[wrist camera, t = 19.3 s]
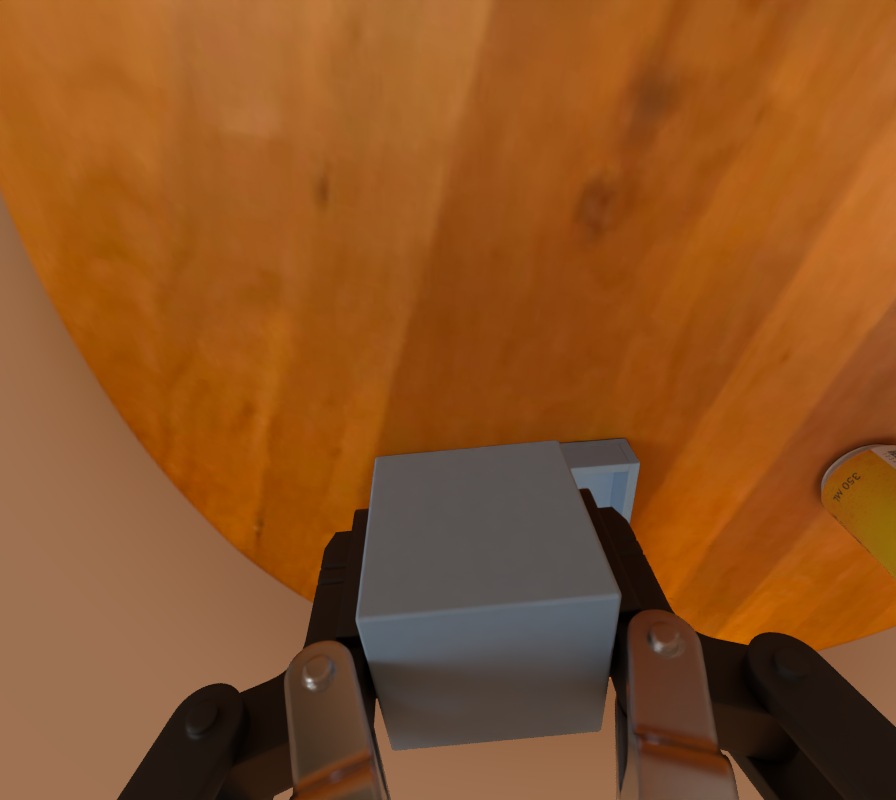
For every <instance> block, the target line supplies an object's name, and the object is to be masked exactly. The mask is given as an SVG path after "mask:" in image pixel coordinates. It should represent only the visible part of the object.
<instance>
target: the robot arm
mask: <svg viewBox="0 0 896 800" xmlns="http://www.w3.org/2000/svg"><path fill="white" fill-rule="evenodd" d="M579 492H580V494H581V497H582V499H583V501H584V504H585V506H586V509H587V511H588V514H589V516H590V519H591V521H592V524H593V526H594V528H595V531H596V533H597V536H598V538H599V541H600V543H601V546H602V548H603V551H604V553H605V555H606V558H607V560H608V563H609V565H610V568H611V570H612V573H613V575H614V577H615V580H616V582H617V585H618V587H619V590H620V592H621V595H622V596H621V604H620V610H619V616H618V623H617V629H616V636H615V642H614V649H613V655H612V662H611V668H610V674H609V677H611V679H612V682H613V685H614V688H615V691H616V699H615V737H616V738H615V739H616V800H739V796H738V791H737V785H736V780H735V776H734V772H733V768H732V765H731V763H730V760H729V758H728V757H727V756H726V755H723V754H722V752H721V750H725V751H728V752H729V753H730V754H731V756H732V757H733V759H734V760H735V761H736V762H737V764H738V765H739V767H740V768H741V769H742V771H743V772H744V773H745V775H746V776H747V777H748V779H749V780H750V781H751V783H752V784H753V785H754V787H755V788H756V789H757V791H758V792H759V793H760V795H761V796H762V797H763V799H764V800H896V727H895V726H894V725H893V724H892V723H891V722H890V721H889V720H888V719H886V718H885V717H884V716H883V715H882V714H881V713H880V712H879V711H878V710H877V709H876V708H875V707H874V706H873V705H872V704H871V703H870V702H869V701H867V699H866V698H864V697H863V696H862V695H861V694H860V693H859V692H858V691H857V690H856V689H855V688H854V687H853V686H852V685H851V684H850V683H849V682H848V681H847V680H846V679H844V678H843V677H842V676H841V675H840V674H839V673H838V672H837V671H836V670H835V669H834V668H833V667H832V666H831V665H830V664H829V663H828V662H827V661H826V660H825V659H823V658H822V657H821V656H820V655H819V654H818V653H817V652H816V651H815V650H814V649H812V648H811V647H810V646H808V645H807V644H805V643H804V642H802V641H800V640H798V639H796V638H794V637H792V636H789V635H786V634H781V633H775V632H768V633H762V634H759V635H757V636H756V637H754V638H753V639H752V640H751V642H750V643H749V645H744V644H740V643H735V642H730V641H725V640H720V639H715V638H712V637H708V636H705V635H703V634H700V633H698V632H696V631H695V630H694V629H693V628H692V627H691V626H690V625H689V624H688V623H687V622H686V621H685V620H683V619H682V618H680V617H679V616H677V615H675V613H674V612H673V611H672V609H671V607H670V605H669V603H668V601H667V599H666V597H665V595H664V593H663V591H662V589H661V587H660V585H659V583H658V581H657V579H656V577H655V575H654V573H653V571H652V569H651V567H650V565H649V563H648V561H647V559H646V557H645V555H643V551H642V549H641V547H640V545H639V543H638V541H636V537H635V535H634V533H633V531H632V529H631V527H630V525H629V523H628V521H627V520H626V519H625V518H624V517H623V516H622V515H621V514H620V513H619V512H617V511H616V510H615V509H614V508H613V507H602V508H598V507H597V505H596V502H595V500H594V498H593V495H592V493H591V491H590V490H589V489H588V488H584V489H579ZM368 514H369V509H359V510H356V511H355V513H354V519H353V526H352V531H345V532H336V533H335V535H334V536H333V538H332V539H331V541H330V542H329V543H328V545H327V546H326V548H325V550H324V555H323V560H322V565H321V570H320V574H319V579H318V585H317V589H316V593H315V598H314V603H313V608H312V613H311V618H310V622H309V627H308V632H307V637H306V641H305V644H304V647H303V650H302V651H301V652H300V653H298V654H297V655H296V656H295V657H294V659H293V660H292V662H291V663H290V665H289V667H288V668H287V670H286V671H284V672H283V673H282V674H280V675H279V676H277V677H275V678H273V679H271V680H269V681H267V682H265V683H262V684H260V685H258V686H255V687H253V688H250V689H248V690H246V691H243V692H241V693H239V692H238V690H237V689H236V688H234V687H233V686H231V685H228V684H223V683H220V684H219V683H218V684H212V685H208V686H205V687H203V688H201V689H199V690H197V691H195V692H194V693H193V694H191V695H190V696H188V697H187V698H186V699H185V700H184V701H183V702H182V703H181V704H180V705H179V706H178V708H177V709H176V710H175V712H174V713H173V715H172V716H171V718H170V719H169V721H168V722H167V724H166V726H165V727H164V728H163V730H162V732H161V733H160V735H159V736H158V738H157V739H156V741H155V742H154V744H153V745H152V747H151V748H150V750H149V751H148V753H147V754H146V756H145V757H144V759H143V761H142V762H141V764H140V765H139V767H138V768H137V770H136V772H135V773H134V774H133V776H132V777H131V779H130V781H129V782H128V784H127V785H126V787H125V788H124V790H123V791H122V793H121V794H120V796H119V797H118V799H117V800H273V798H274V796H275V795H277V794H279V793H281V792H284V791H286V790H288V789H290V788H292V787H293V795H292V796H291V797H290V799H289V800H391V799H390V794H389V790H388V786H387V782H386V777H385V772H384V769H383V764H382V760H381V755H380V751H379V747H378V743H377V738H376V734H375V730H374V717H375V703H376V698H377V695H376V691H375V687H374V684H373V680H372V677H371V673H370V670H369V666H368V663H367V659H366V656H365V652H364V649H363V645H362V642H361V638H360V635H359V631H358V627H357V624H356V620H355V619H356V611H357V603H358V595H359V586H360V578H361V570H362V562H363V554H364V546H365V538H366V530H367V522H368ZM720 749H721V750H720Z"/></svg>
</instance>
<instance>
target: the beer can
mask: <svg viewBox="0 0 896 800" xmlns="http://www.w3.org/2000/svg"><path fill="white" fill-rule="evenodd" d="M821 490H822V494H821V500H822V504H823V506H824V507H825V509H826V510H827V511H828V512H829V513H830V514H831V515H832V516H833V517H834V518H835V519H836V520H837V521H838V522H839V523H840V524H841V525H842V526H843V527H844V528H845V529H846V530H847V531H848V532H849V533H850V534H851V535H852V536H853V537H854V538H855V539H856V540H857V541H858V542H859V543H860V544H861V545H862V546H863V547H864V548H865V549H866V550H867V551H868V552H869V553H870V554H871V555H872V556H873V557H874V558H875V559H876V560H877V561H878V562H879V563H880V564H881V565H882V566H883V567H884V568H885V569H886V570H887V571H888V572H889V573H890V574H891V575H892V576H893V577H894V578H895V579H896V445H881V444H874V445H867V446H863V447H860V448H857V449H855V450H853V451H850V452H849V453H847V454H845V455H843V456H842V457H841V458H839V459H838V460H837V461H835V462H834V463H833V464H832V465H831V466H830V468H829V469H828V470H827V471H826V473H825V475H824V477H823V479H822V483H821Z"/></svg>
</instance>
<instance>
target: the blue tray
mask: <svg viewBox="0 0 896 800" xmlns="http://www.w3.org/2000/svg"><path fill="white" fill-rule="evenodd" d="M560 445H561V448H562V450H563V452H564V455H565V457H566V460H567V462H568V465H569V467H570V470H571V472H572V475H573V477H574V479H575V482H576V484H577V487H578V489H584V488H588V489H589V490H590V491H591V493H592V495H593V498H594V500H595V502H596V505H597V507H598V508H602V507H613V508H614V509H615V510H616V511H617V512H619V513H620V514H621V515H622V516H623V517H624V518H625V519H626V520H627V521H628V523H629V524H630V519H631V513H632V507H633V502H634V496H635V490H636V485H637V479H638V473H639V468H640V462H639V460H638V459H637V457H636V455H635V454H634V452H633V450H632V449H631V447H630V445H629V444H628V442H627V441H626V439H625V438H623V439H610V440H598V441H585V442H573V443H560Z"/></svg>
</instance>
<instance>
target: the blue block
mask: <svg viewBox="0 0 896 800" xmlns="http://www.w3.org/2000/svg"><path fill="white" fill-rule="evenodd" d="M621 596H622V595H621V592H620V590H619V587H618V585H617V582H616V580H615V577H614V575H613V573H612V570H611V568H610V565H609V563H608V560H607V558H606V555H605V553H604V551H603V548H602V546H601V543H600V541H599V538H598V536H597V533H596V531H595V528H594V526H593V524H592V521H591V519H590V516H589V514H588V511H587V509H586V506H585V504H584V501H583V499H582V497H581V494H580V492H579V489H578V487H577V484H576V482H575V479H574V477H573V475H572V472H571V470H570V467H569V465H568V462H567V460H566V457H565V455H564V452H563V450H562V448H561V445H560V443H559V441H558V440H551V441H540V442H530V443H519V444H508V445H498V446H487V447H477V448H466V449H455V450H445V451H434V452H423V453H413V454H402V455H392V456H381V457H377V458H376V459H375V465H374V473H373V481H372V489H371V497H370V506H369V514H368V522H367V530H366V538H365V546H364V554H363V562H362V570H361V578H360V586H359V595H358V603H357V611H356V619H355V620H356V624H357V627H358V631H359V635H360V638H361V642H362V645H363V649H364V652H365V656H366V659H367V663H368V666H369V670H370V673H371V677H372V680H373V684H374V687H375V691H376V695H377V698H378V701H379V705H380V709H381V712H382V715H383V719H384V723H385V726H386V729H387V733H388V737H389V740H390V744H391V747H392V749H393V750H407V749H417V748H428V747H437V746H449V745H460V744H470V743H480V742H491V741H502V740H513V739H522V738H534V737H544V736H554V735H566V734H576V733H587V732H598V731H600V730H601V726H602V719H603V713H604V707H605V700H606V694H607V687H608V681H609V674H610V668H611V662H612V655H613V649H614V642H615V636H616V629H617V623H618V616H619V610H620V604H621Z"/></svg>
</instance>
